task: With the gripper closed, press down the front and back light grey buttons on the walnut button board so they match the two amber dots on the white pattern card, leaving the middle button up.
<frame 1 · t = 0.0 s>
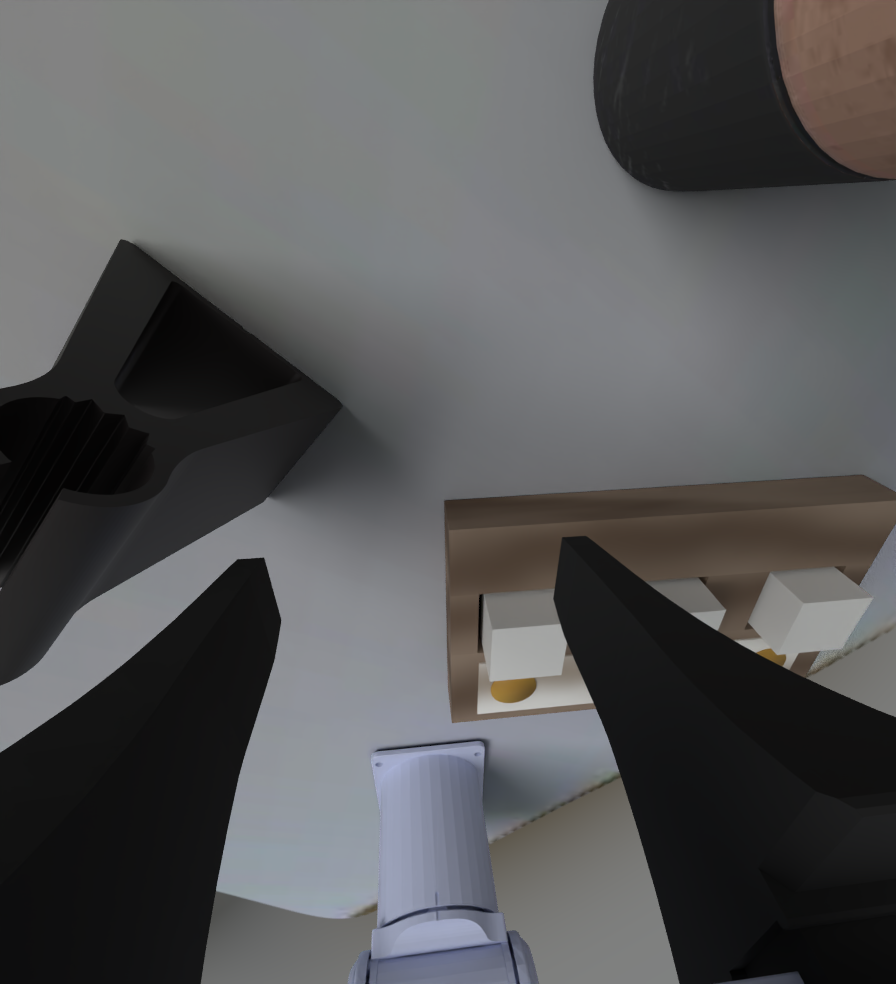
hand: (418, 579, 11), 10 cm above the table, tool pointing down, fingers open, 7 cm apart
button middle: (664, 617, 23), point 3 cm above the table, slide at 0.0 cm
travel mug: (696, 61, 15), on the table
button board: (634, 591, 26), on the table
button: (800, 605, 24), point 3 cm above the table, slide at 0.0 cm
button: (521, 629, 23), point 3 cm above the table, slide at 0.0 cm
phone stand: (208, 385, 18), on the table
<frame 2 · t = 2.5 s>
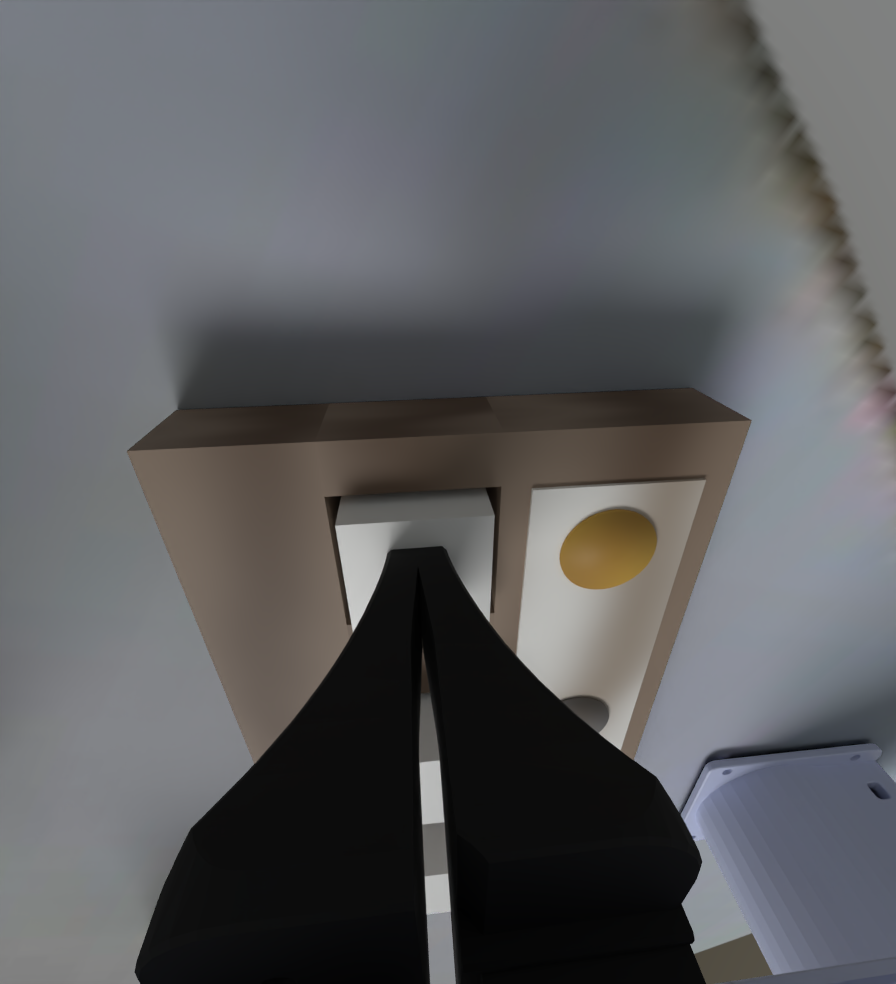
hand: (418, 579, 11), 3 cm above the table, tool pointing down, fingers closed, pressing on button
button middle: (428, 746, 15), point 3 cm above the table, slide at 0.0 cm
button board: (449, 668, 18), on the table
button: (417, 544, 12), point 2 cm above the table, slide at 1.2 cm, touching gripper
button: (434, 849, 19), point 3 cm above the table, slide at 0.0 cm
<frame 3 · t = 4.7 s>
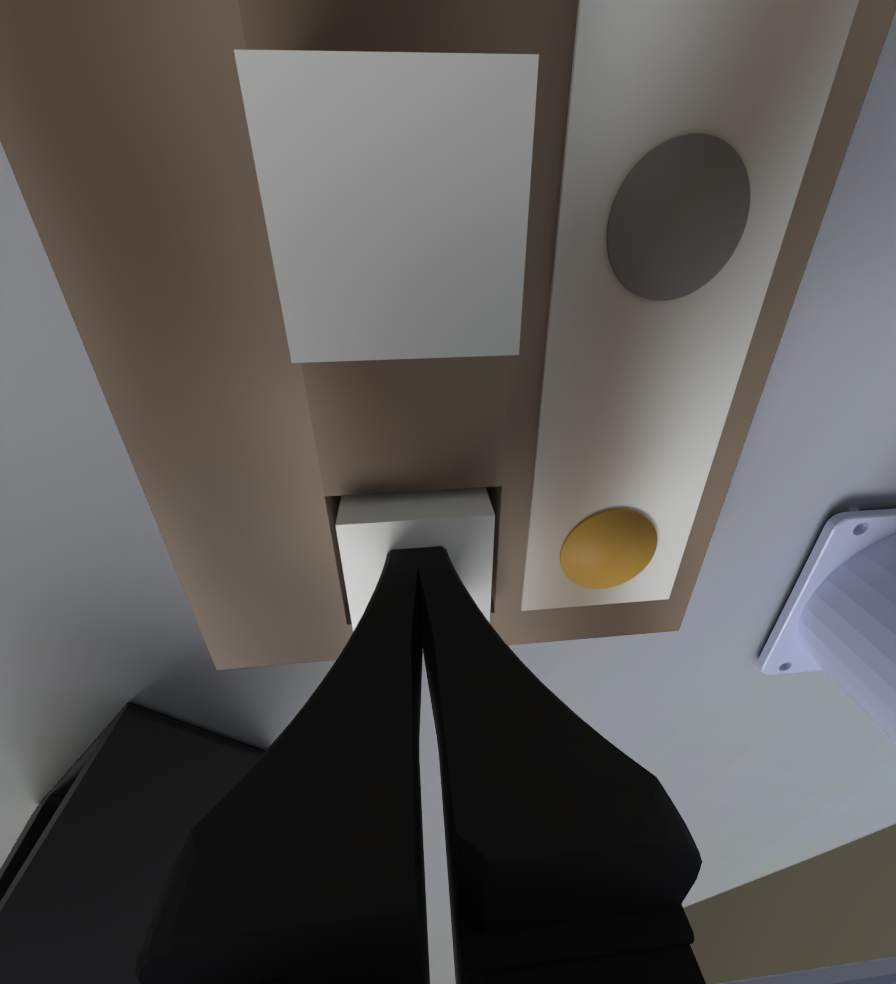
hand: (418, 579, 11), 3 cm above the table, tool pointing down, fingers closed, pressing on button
button middle: (399, 227, 8), point 3 cm above the table, slide at 0.0 cm
button board: (443, 226, 10), on the table
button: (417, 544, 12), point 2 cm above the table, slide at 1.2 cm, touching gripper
phone stand: (155, 773, 20), on the table
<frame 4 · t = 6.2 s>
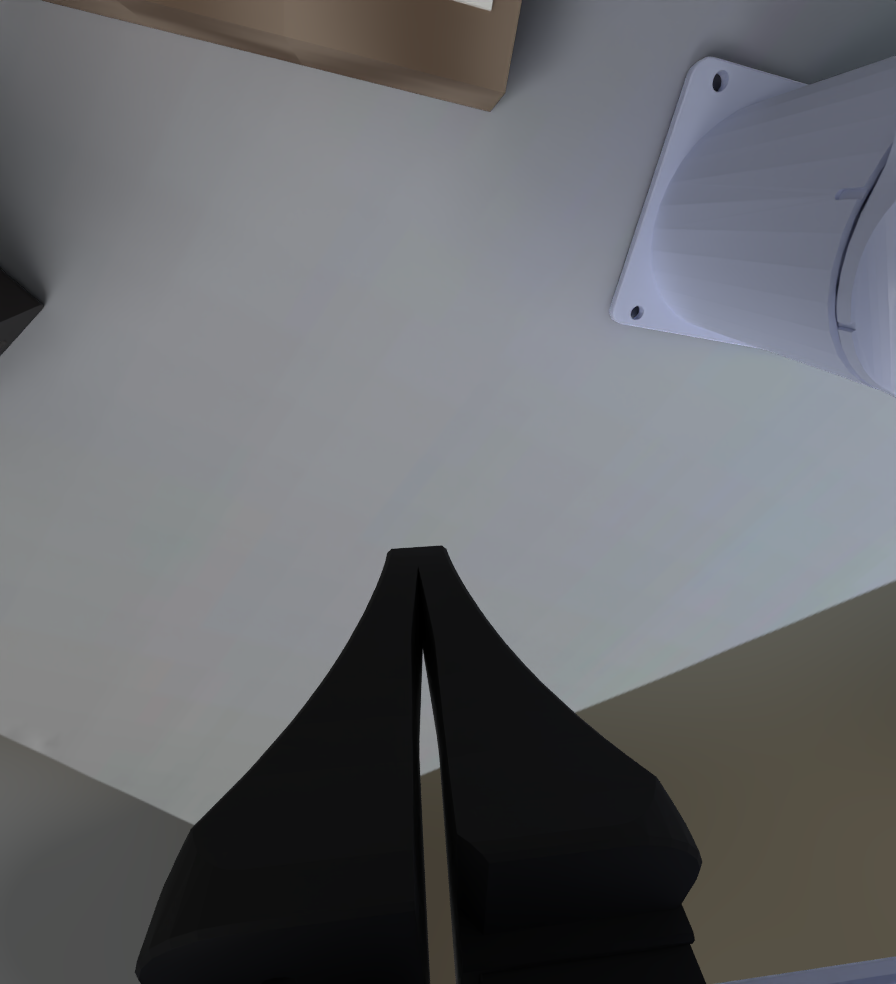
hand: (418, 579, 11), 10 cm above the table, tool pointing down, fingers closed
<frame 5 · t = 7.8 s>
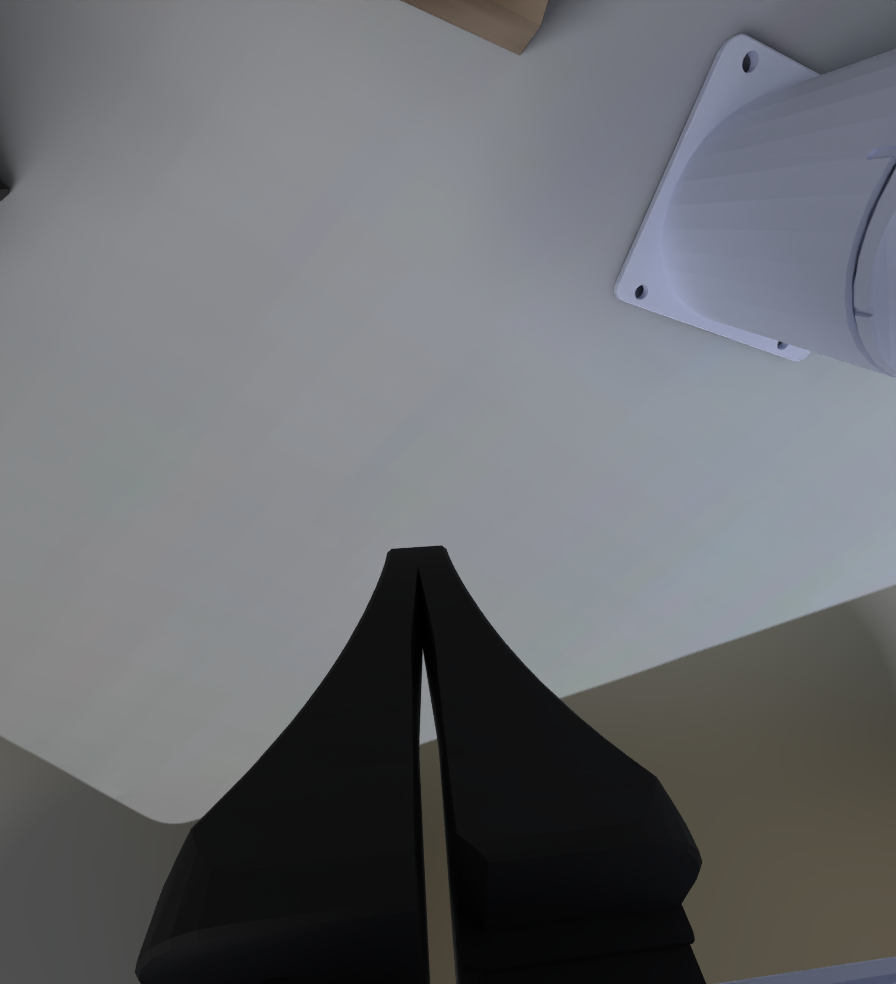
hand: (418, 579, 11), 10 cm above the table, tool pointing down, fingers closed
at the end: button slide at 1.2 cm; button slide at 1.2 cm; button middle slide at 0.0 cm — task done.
